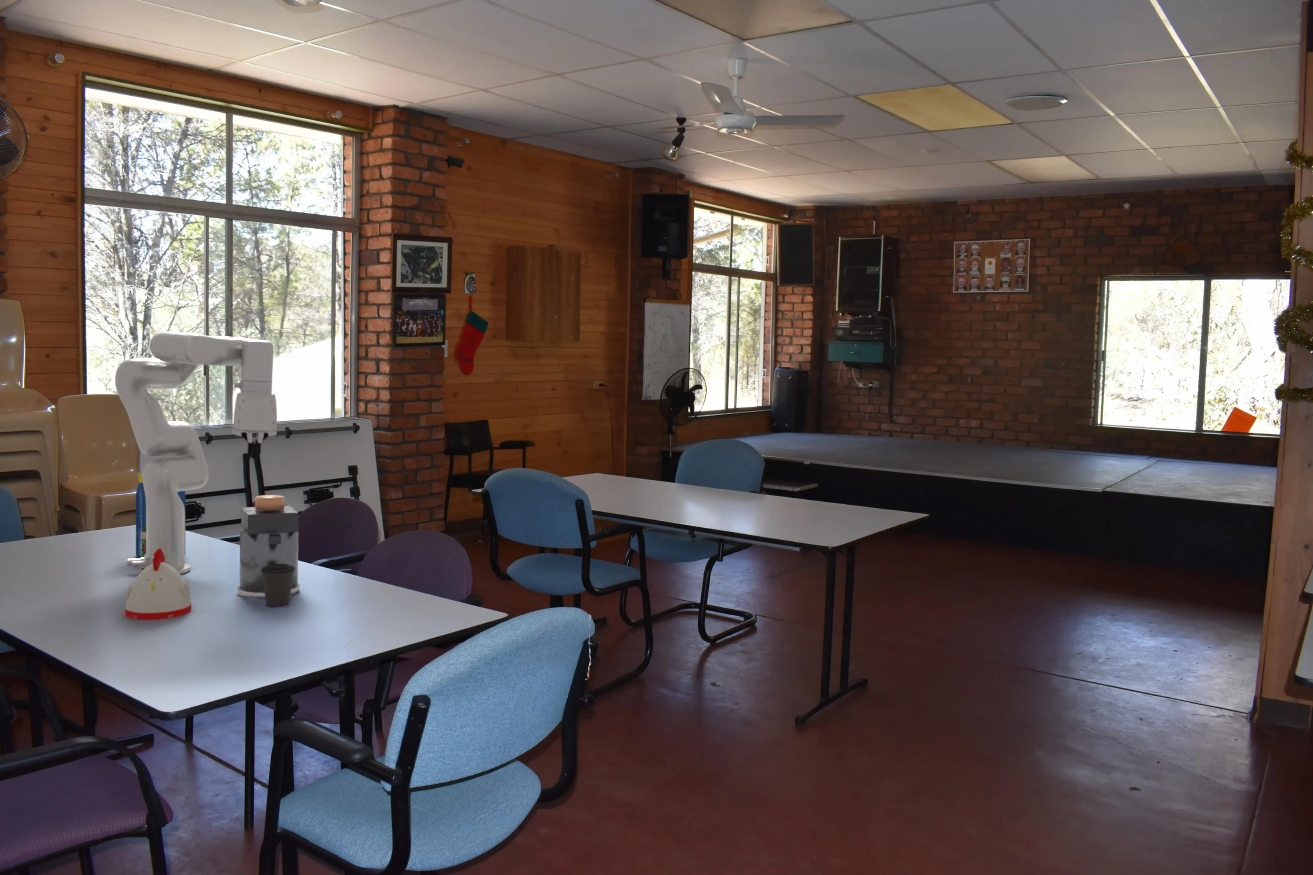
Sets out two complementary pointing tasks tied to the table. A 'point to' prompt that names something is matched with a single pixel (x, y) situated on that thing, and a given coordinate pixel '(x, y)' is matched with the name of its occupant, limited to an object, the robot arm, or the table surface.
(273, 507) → the button
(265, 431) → the robot arm
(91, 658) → the table surface
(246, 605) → the table surface
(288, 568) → the coffee cup
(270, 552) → the airpot
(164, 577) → the kitchen timer
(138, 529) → the blue food package
